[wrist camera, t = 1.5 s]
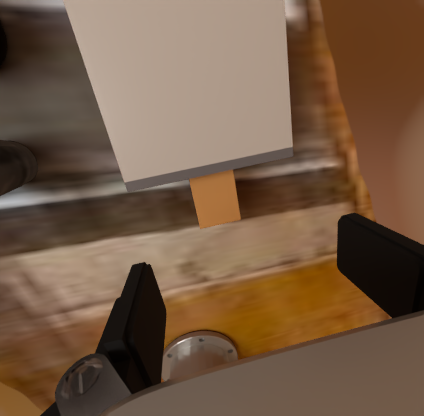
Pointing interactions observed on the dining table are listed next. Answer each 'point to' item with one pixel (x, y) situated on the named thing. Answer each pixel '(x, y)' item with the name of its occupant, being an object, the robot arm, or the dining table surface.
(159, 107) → the beige rectangular block
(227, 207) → the orange rectangular block
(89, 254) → the dining table surface
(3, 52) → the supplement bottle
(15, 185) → the beverage cup
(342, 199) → the dining table surface
